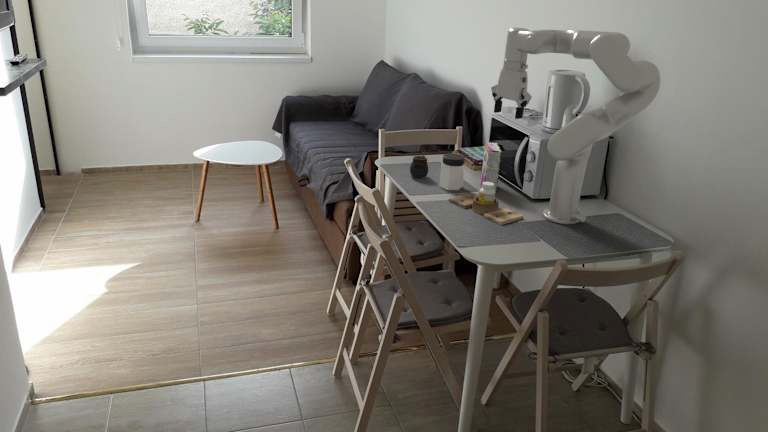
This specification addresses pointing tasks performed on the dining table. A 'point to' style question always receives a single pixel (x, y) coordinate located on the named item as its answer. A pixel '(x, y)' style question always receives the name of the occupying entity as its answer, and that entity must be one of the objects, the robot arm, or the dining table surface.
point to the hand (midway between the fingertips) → (507, 115)
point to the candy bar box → (491, 164)
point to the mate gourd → (419, 166)
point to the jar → (452, 172)
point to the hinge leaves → (486, 209)
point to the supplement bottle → (487, 193)
